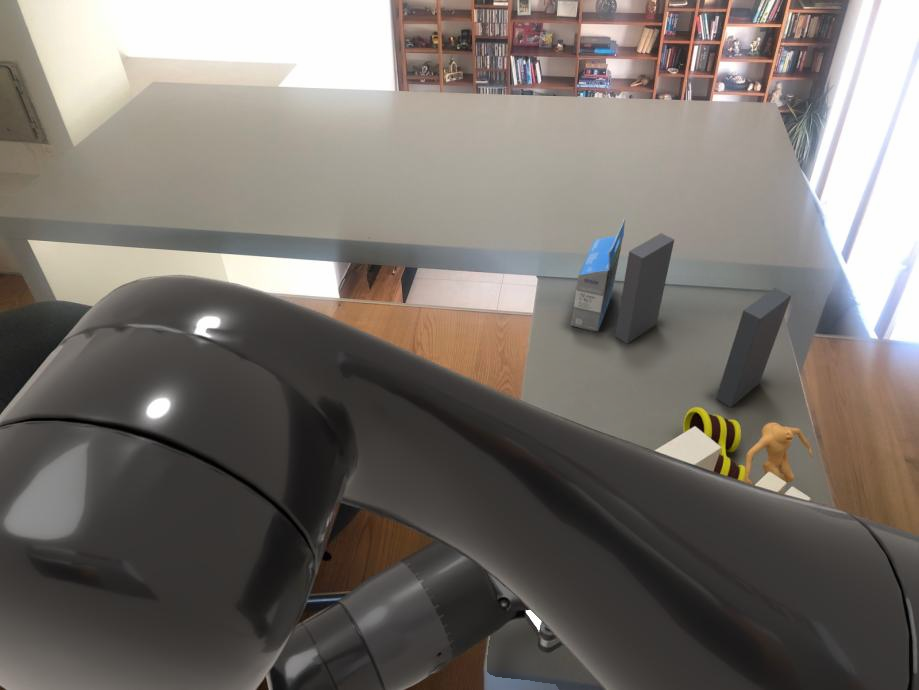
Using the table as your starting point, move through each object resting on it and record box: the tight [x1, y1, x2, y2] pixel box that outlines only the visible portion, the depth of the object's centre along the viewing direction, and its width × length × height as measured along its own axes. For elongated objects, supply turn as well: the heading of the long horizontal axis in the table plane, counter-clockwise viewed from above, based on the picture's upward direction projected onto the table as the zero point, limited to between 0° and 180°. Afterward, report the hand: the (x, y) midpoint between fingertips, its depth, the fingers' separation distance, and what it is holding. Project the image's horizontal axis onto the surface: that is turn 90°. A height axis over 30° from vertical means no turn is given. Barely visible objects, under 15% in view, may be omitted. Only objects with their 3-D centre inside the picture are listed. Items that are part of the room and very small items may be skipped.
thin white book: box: [654, 426, 721, 471], centre depth 62 cm, size 3×8×12 cm, turn 123°
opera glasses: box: [682, 406, 745, 481], centre depth 71 cm, size 10×5×5 cm, turn 168°
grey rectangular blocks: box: [614, 232, 792, 408], centre depth 81 cm, size 17×6×13 cm, turn 40°
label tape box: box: [570, 217, 626, 332], centre depth 89 cm, size 9×4×12 cm, turn 159°
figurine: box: [743, 422, 813, 494], centre depth 64 cm, size 8×6×12 cm
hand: (595, 505), depth 55 cm, fingers open, 8 cm apart
